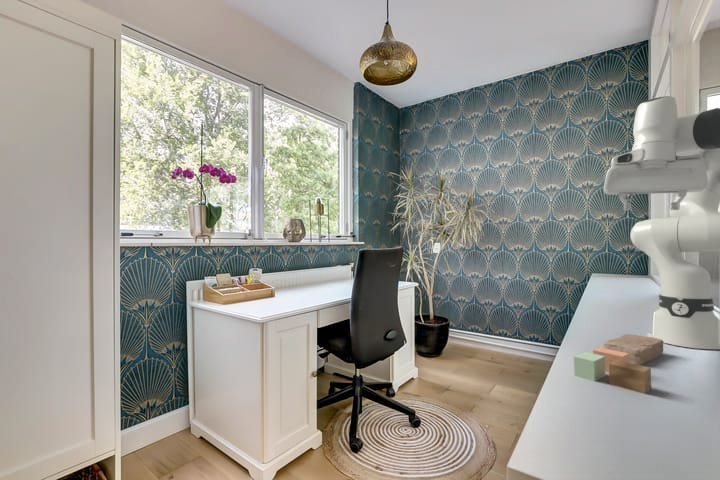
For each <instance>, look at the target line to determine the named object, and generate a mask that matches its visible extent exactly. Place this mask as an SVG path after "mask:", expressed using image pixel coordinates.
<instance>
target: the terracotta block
mask: <svg viewBox="0 0 720 480" xmlns="http://www.w3.org/2000/svg"><path fill="white" fill-rule="evenodd" d="M592 353H593V354H597V355H601V356H605V373H607V372H608V373H609V363H611V362H613V361H615V360H618V361H623V362H627V363H629V353H625V352H620V351H615V350H610V349H605V348H603V347H598V348H595V349H593V350H592Z"/></svg>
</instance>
